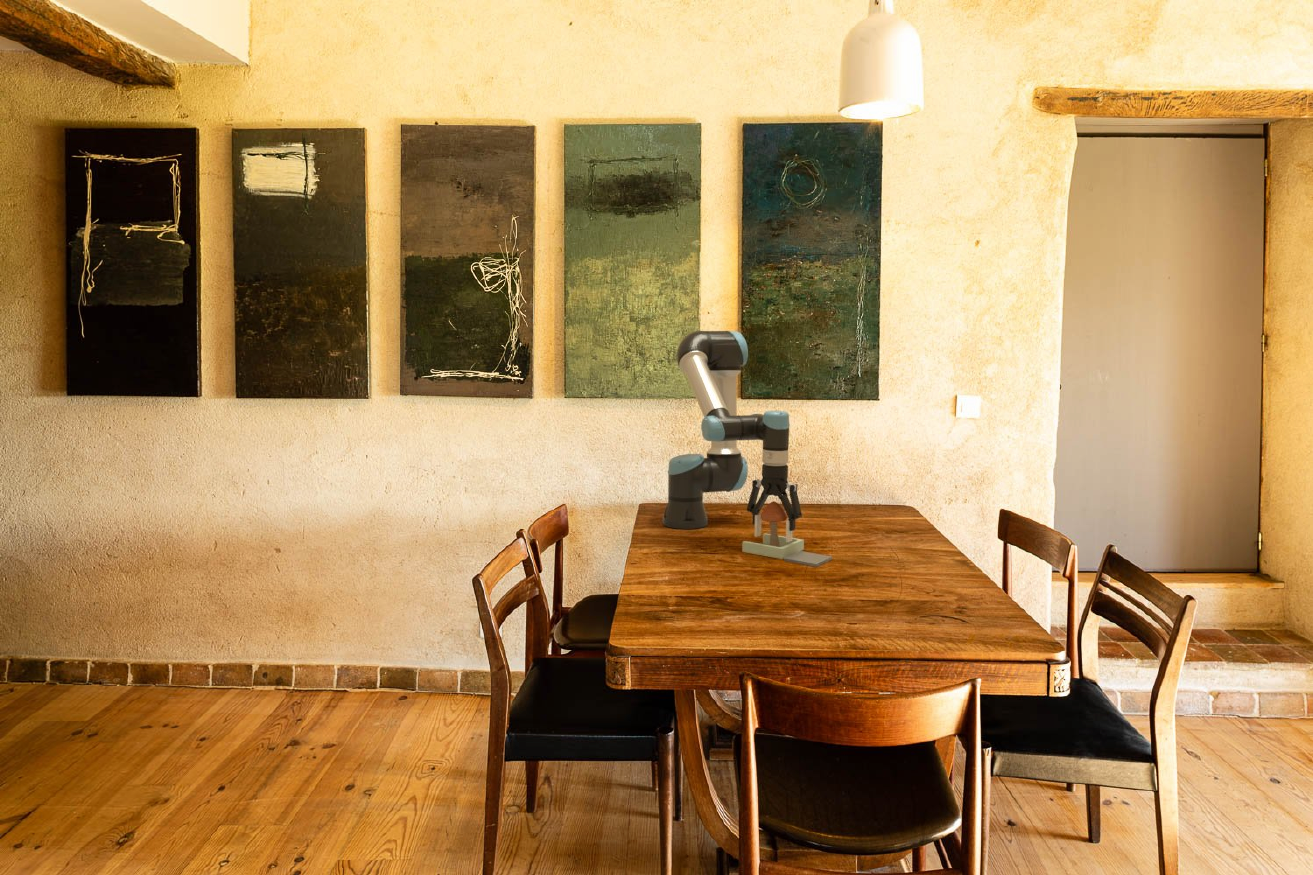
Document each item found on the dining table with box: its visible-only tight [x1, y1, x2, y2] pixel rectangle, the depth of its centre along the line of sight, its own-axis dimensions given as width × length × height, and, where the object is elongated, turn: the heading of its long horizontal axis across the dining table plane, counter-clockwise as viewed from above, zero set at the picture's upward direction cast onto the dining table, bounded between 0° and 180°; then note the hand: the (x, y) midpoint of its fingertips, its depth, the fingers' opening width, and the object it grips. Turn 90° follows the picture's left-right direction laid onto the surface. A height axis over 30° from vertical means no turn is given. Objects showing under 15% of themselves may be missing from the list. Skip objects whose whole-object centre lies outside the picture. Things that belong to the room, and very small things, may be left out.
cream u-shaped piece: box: [741, 533, 805, 560], centre depth 244 cm, size 13×13×3 cm
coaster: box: [783, 550, 833, 568], centre depth 234 cm, size 10×10×1 cm
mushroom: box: [760, 501, 788, 547], centre depth 243 cm, size 8×8×15 cm
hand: (773, 538), depth 243 cm, fingers open, 10 cm apart
